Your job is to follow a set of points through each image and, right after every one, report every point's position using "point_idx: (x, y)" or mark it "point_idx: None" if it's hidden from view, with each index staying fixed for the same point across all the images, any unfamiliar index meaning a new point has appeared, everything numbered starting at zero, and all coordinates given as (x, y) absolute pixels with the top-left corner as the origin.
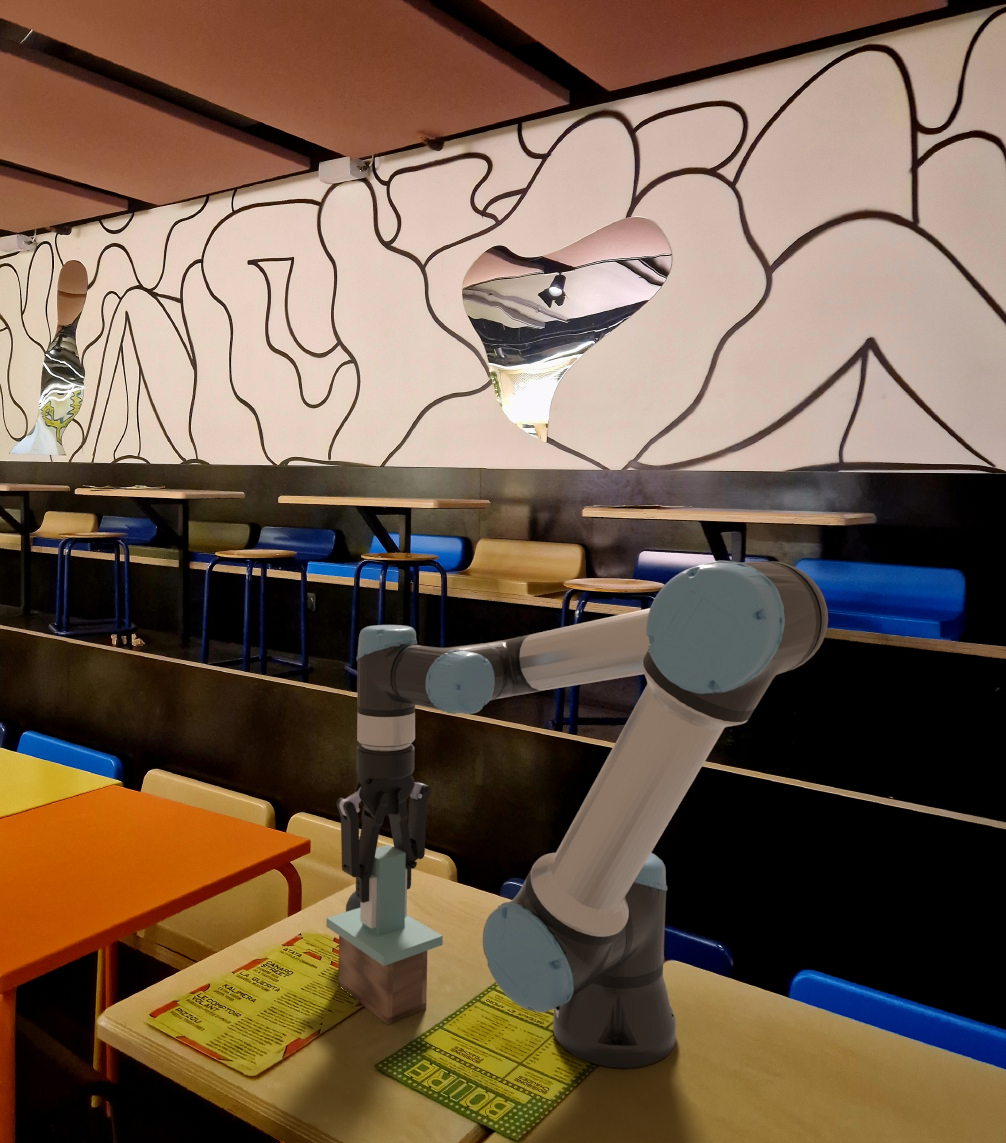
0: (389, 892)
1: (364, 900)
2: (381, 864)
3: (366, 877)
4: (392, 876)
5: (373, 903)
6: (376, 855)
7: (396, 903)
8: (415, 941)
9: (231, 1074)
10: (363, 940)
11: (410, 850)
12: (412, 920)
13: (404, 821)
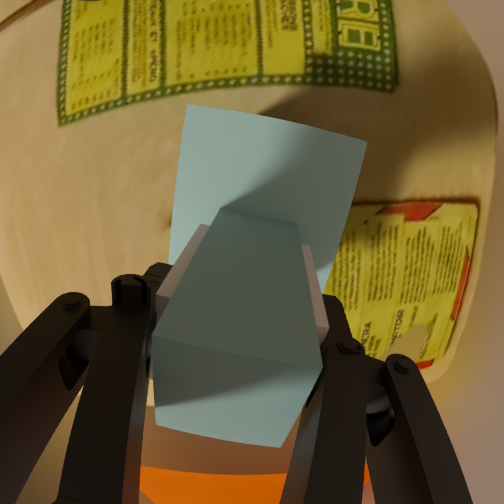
0: (263, 265)
1: (330, 298)
2: (308, 347)
3: (350, 340)
4: (246, 293)
5: (310, 275)
6: (283, 404)
7: (237, 240)
8: (258, 132)
9: (482, 226)
10: (336, 235)
11: (106, 339)
12: (179, 221)
13: (79, 491)
